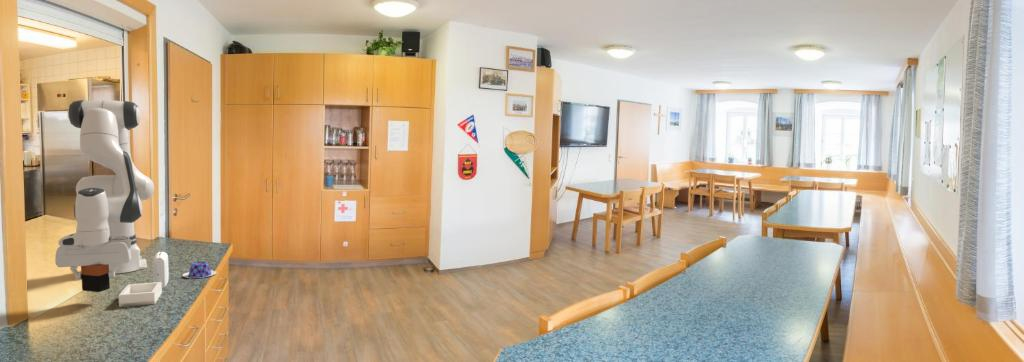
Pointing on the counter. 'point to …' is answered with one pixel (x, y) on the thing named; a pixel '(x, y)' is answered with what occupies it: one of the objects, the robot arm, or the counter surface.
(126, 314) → the counter surface
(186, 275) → the pudding
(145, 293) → the trough
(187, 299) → the counter surface
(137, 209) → the robot arm
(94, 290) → the battery
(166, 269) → the photo printer
